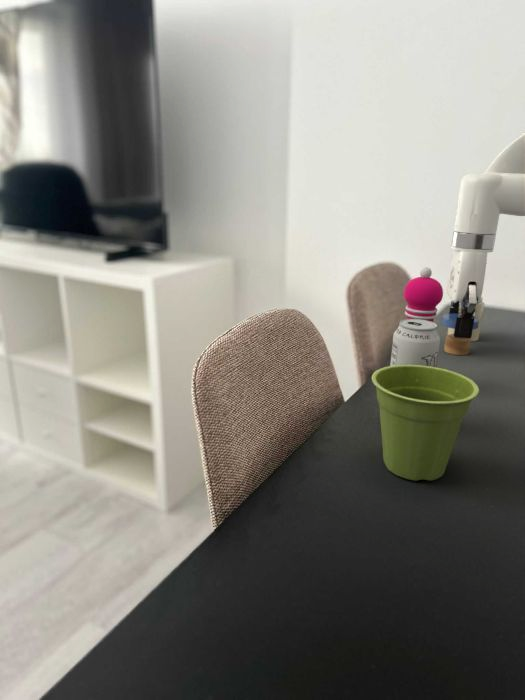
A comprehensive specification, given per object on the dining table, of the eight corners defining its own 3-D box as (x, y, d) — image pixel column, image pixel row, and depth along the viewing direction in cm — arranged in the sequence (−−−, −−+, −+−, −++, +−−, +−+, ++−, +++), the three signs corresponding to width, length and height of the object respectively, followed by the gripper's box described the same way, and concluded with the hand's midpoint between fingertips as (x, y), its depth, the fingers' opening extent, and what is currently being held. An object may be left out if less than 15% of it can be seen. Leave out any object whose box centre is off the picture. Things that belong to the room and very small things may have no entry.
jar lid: (438, 326, 101) (439, 319, 101) (445, 318, 107) (446, 311, 107) (475, 332, 98) (476, 324, 98) (480, 323, 104) (481, 316, 103)
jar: (471, 332, 117) (478, 293, 114) (483, 341, 111) (490, 300, 108) (443, 332, 117) (448, 292, 114) (453, 341, 111) (459, 299, 108)
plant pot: (463, 452, 66) (477, 371, 63) (464, 504, 56) (481, 410, 52) (371, 435, 70) (379, 358, 66) (355, 481, 59) (364, 392, 56)
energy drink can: (416, 439, 69) (430, 333, 64) (376, 425, 73) (386, 323, 68) (434, 424, 74) (449, 323, 69) (395, 411, 77) (407, 315, 72)
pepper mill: (381, 383, 87) (394, 266, 81) (404, 373, 92) (417, 262, 86) (420, 396, 83) (436, 273, 76) (441, 385, 87) (458, 268, 81)
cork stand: (463, 347, 107) (465, 334, 106) (472, 355, 102) (474, 341, 101) (440, 347, 107) (442, 333, 106) (448, 355, 102) (450, 340, 101)
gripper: (445, 236, 106) (433, 319, 112) (460, 247, 90) (446, 343, 96) (483, 238, 105) (469, 321, 111) (506, 249, 89) (488, 346, 94)
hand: (458, 331), depth 103 cm, fingers closed on jar lid, 6 cm apart
